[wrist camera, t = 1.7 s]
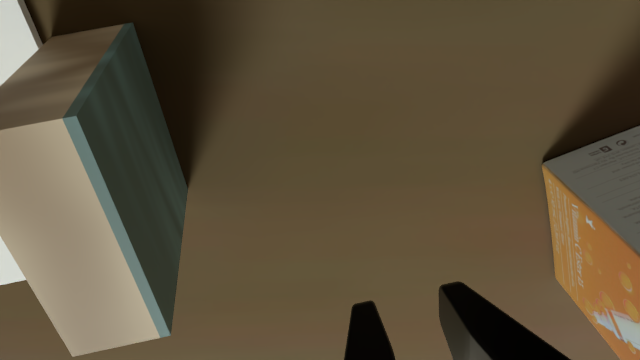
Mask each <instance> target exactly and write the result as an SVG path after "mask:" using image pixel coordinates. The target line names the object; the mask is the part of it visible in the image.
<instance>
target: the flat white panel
mask: <svg viewBox="0 0 640 360" xmlns="http://www.w3.org/2000/svg"><path fill="white" fill-rule="evenodd" d="M42 45H43V44H42V42H41V39H40V37H39V35H38V32H37V30H36V28H35V25H34V23H33V21H32V18H31V16H30V14H29V12H28V9H27V7H26V5H25V2H24V0H0V86H1V85H2V84H3V83H4V82H5V81H6V80H7V79H8V78H9V77H10V76H11V75H12V74H13V73H14V72H15V71H16V70H18V69H19V68H20V67H21V66H22V65H23V64H24V63H25V62H26V61H27V60H28V59H29V58H30V57H31V56H32V55H33V54H34V53H35V52H36V51H37V50H38V49H39V48H40V47H41V46H42ZM23 280H26V278H25V276H24V275H23V273H22V271H21V270H20V268H19V266H18V265H17V263H16V261H15V260H14V258H13V256H12V255H11V253H10V251H9V250H8V248H7V246H6V245H5V243H4V241H3V240H2V238H1V236H0V285H3V284H8V283H13V282H18V281H23Z"/></svg>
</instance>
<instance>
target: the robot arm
mask: <svg viewBox="0 0 640 360" xmlns="http://www.w3.org/2000/svg"><path fill="white" fill-rule="evenodd" d="M439 318H440V323H441V326H442V329H443V332H444V335H445V337H446V340H447V343H448V346H449V348H450V351H451V354H452V357H453V360H571V359H569V358H568V357H566V356H565V355H564V354H562V353H561V352H559V351H558V350H557V349H555V348H554V347H552V346H551V345H549V344H548V343H547V342H545V341H544V340H542V339H541V338H540V337H538V336H537V335H535V334H534V333H533V332H531V331H530V330H528V329H527V328H526V327H524V326H523V325H521V324H520V323H519V322H517V321H516V320H514V319H513V318H512V317H510V316H509V315H507V314H506V313H504V312H503V311H502V310H500V309H499V308H497V307H496V306H495V305H493V304H492V303H490V302H489V301H488V300H486V299H485V298H483V297H482V296H481V295H479V294H478V293H476V292H475V291H474V290H472V289H471V288H469V287H468V286H467V285H465V284H464V283H462V282H453V283H448V284H444V285H441V286H440V288H439ZM344 360H395V356H394V352H393V349H392V346H391V343H390V341H389V338H388V336H387V333H386V331H385V328H384V326H383V323H382V321H381V318H380V316H379V313H378V311H377V308H376V306H375V303H374V302H373V301H366V302H362V303H357V304H354V305H353V307H352V311H351V317H350V324H349V331H348V337H347V344H346V351H345V357H344Z"/></svg>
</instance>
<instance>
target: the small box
mask: <svg viewBox="0 0 640 360" xmlns="http://www.w3.org/2000/svg"><path fill="white" fill-rule="evenodd" d="M542 170H543V175H544V180H545V186H546V193H547V200H548V208H549V217H550V225H551V234H552V245H553V255H554V266H555V277H556V279H557V280H558V282H559V283H560V284H561V285H562V287H563V288H564V289H565V290H566V292H567V293H568V294H569V295H570V297H571V298H572V299H573V300H574V302H575V303H576V304H577V305H578V307H579V308H580V309H581V310H582V312H583V313H584V314H585V315H586V317H587V318H588V319H589V320H590V322H591V323H592V324H593V325H594V327H595V328H596V329H597V330H598V331H599V333H600V334H601V335H602V337H603V338H604V339H605V340H606V342H607V343H608V344H609V345H610V347H611V348H612V349H613V351H614V352H615V353H616V354H617V356H618V357H619V358H620V359H621V360H640V126H638V127H635V128H632V129H629V130H627V131H624V132H622V133H619V134H616V135H614V136H611V137H608V138H606V139H603V140H600V141H598V142H595V143H593V144H590V145H587V146H585V147H582V148H579V149H577V150H574V151H572V152H569V153H567V154H564V155H561V156H559V157H556V158H554V159H551V160H548V161H546V162H544V163H543V164H542Z"/></svg>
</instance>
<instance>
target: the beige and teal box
mask: <svg viewBox="0 0 640 360" xmlns="http://www.w3.org/2000/svg"><path fill="white" fill-rule="evenodd" d="M187 192H188V188H187V185H186V182H185V179H184V176H183V173H182V170H181V167H180V164H179V161H178V158H177V155H176V152H175V149H174V146H173V143H172V140H171V137H170V134H169V131H168V128H167V125H166V122H165V118H164V115H163V112H162V109H161V106H160V103H159V100H158V97H157V94H156V91H155V88H154V85H153V82H152V79H151V76H150V73H149V70H148V67H147V64H146V61H145V58H144V55H143V52H142V49H141V46H140V43H139V40H138V37H137V34H136V31H135V28H134V25H133V22H132V23H127V24H121V25H116V26H110V27H105V28H99V29H93V30H88V31H82V32H77V33H71V34H66V35H60V36H54V37H51V38H50V39H49V40H48V41H47V42H46V43H45V44H44V45H42V46H41V47H40V48H39V49H38V50H37V51H36V52H35V53H34V54H33V55H32V56H31V57H30V58H29V59H28V60H27V61H26V62H25V63H24V64H23V65H22V66H21V67H20V68H19V69H18V70H16V71H15V72H14V73H13V74H12V75H11V76H10V77H9V78H8V79H7V80H6V81H5V82H4V83H3V84H2V85H1V86H0V236H1V238H2V240H3V241H4V243H5V245H6V246H7V248H8V250H9V251H10V253H11V255H12V256H13V258H14V260H15V261H16V263H17V265H18V266H19V268H20V270H21V271H22V273H23V275H24V276H25V278H26V280H27V281H28V283H29V285H30V286H31V288H32V290H33V291H34V293H35V295H36V296H37V298H38V300H39V301H40V303H41V305H42V306H43V308H44V310H45V311H46V313H47V315H48V316H49V318H50V320H51V321H52V323H53V325H54V326H55V328H56V330H57V331H58V333H59V335H60V336H61V338H62V340H63V341H64V343H65V345H66V346H67V348H68V350H69V351H70V353H71V355H72V356H73V357H74V356H78V355H83V354H87V353H92V352H97V351H101V350H106V349H110V348H115V347H120V346H124V345H129V344H133V343H138V342H143V341H147V340H152V339H156V338H161V337H166V336H170V335H171V329H172V320H173V311H174V303H175V294H176V286H177V277H178V269H179V260H180V252H181V243H182V235H183V226H184V218H185V209H186V201H187Z"/></svg>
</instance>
